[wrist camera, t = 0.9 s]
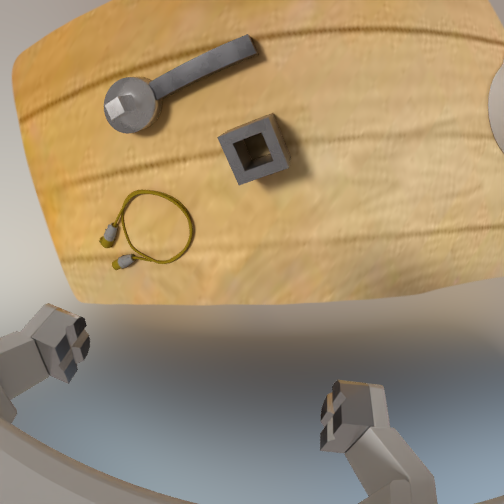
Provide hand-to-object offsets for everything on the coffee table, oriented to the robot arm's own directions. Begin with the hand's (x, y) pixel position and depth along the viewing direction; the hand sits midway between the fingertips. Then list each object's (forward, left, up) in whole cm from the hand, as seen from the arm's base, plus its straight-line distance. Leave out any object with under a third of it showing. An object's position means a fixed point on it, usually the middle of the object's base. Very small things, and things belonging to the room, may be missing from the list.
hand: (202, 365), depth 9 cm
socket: (+2, -2, -31) cm, 31 cm away
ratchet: (+8, -12, -31) cm, 34 cm away
